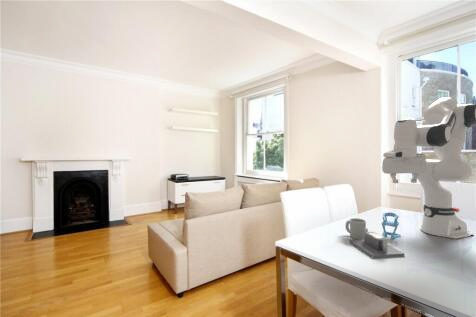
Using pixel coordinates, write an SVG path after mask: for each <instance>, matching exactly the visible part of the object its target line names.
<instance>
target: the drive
mask: <svg viewBox="0 0 476 317" xmlns="http://www.w3.org/2000/svg"><path fill="white" fill-rule="evenodd" d="M383 238H385V236H384V235H381V234H379V233H377V232H374V231H368V232H364V243H366V244H367V245H369V246H371V247H372V248H374V249H376V250H377V251H383ZM387 241H388V238H387Z"/></svg>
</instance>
